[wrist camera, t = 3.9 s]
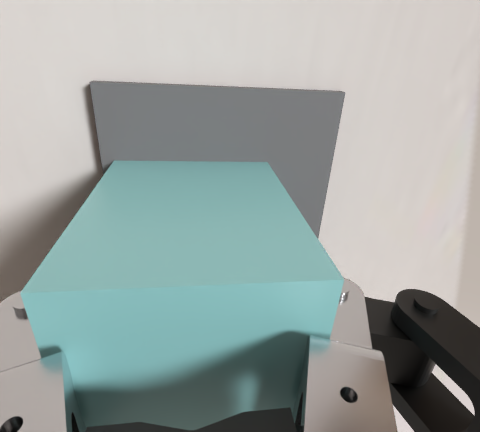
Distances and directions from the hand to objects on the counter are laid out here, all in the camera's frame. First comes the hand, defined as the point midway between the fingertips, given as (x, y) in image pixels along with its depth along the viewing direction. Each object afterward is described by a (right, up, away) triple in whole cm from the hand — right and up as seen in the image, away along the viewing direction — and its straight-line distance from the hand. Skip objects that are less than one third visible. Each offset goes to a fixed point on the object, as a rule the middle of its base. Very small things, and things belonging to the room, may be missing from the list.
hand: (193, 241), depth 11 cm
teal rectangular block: (0, 0, +1) cm, 1 cm away
